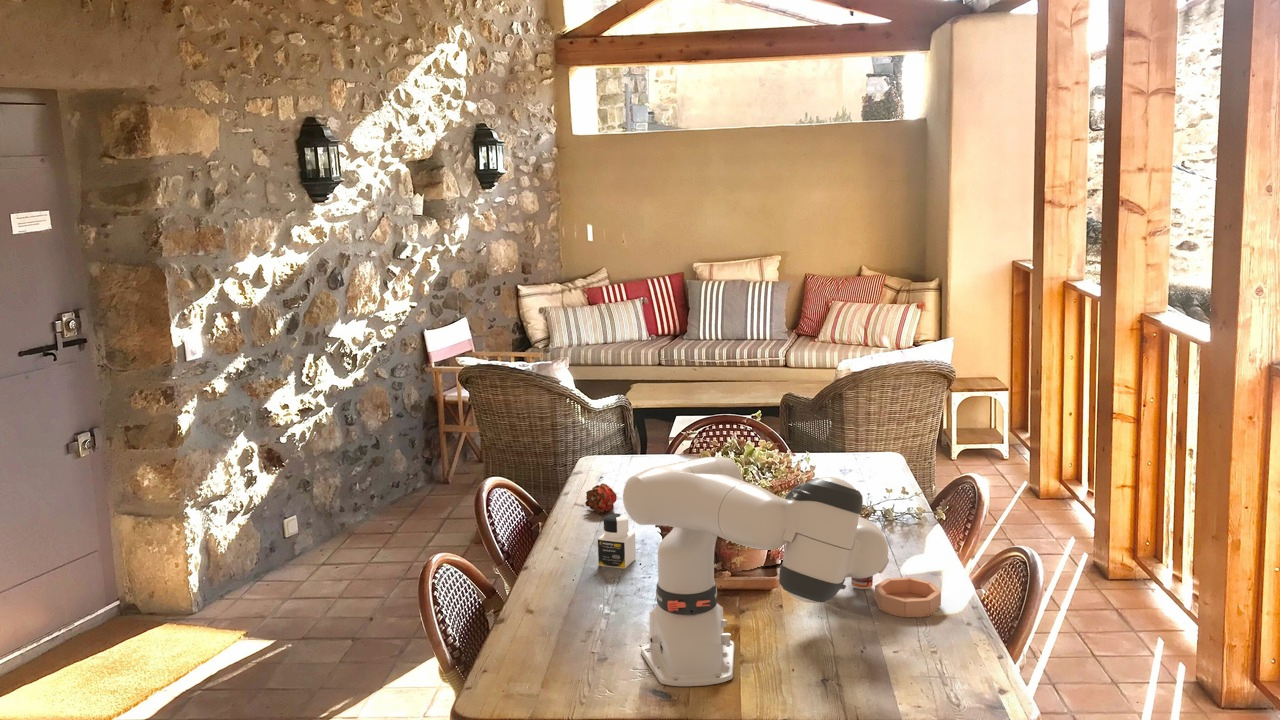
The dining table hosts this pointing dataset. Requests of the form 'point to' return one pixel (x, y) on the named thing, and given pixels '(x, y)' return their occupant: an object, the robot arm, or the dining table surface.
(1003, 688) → the dining table surface
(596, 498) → the dragon fruit
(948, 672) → the dining table surface
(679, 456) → the dining table surface
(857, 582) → the pill bottle
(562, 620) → the dining table surface
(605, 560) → the medicine bottle
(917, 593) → the bowl
